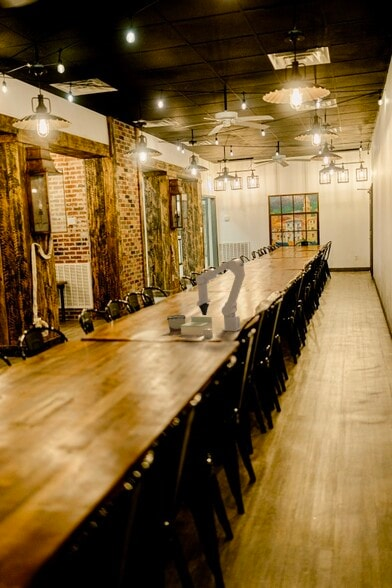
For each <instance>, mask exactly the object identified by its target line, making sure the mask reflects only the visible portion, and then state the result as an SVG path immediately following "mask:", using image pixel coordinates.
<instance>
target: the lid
mask: <svg viewBox="0 0 392 588" xmlns="http://www.w3.org/2000/svg"><path fill="white" fill-rule="evenodd" d="M190 317H191V319H190V320H191V321H189V322H185V324H183V325H181V327H203V326H206V325H208V324H210V323H212V324H213V322H212V321H213V319H212V316H200V315H199V316H198V315H197V316H193V315H192V316H190Z"/></svg>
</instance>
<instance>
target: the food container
mask: <svg viewBox="0 0 392 588" xmlns="http://www.w3.org/2000/svg"><path fill="white" fill-rule="evenodd" d="M186 320H187V317H186V315H184V314H174V315H168V316H167V318H166V321H167V324H168V329H169V333H172V334H173V333H181V325H183V324H186Z"/></svg>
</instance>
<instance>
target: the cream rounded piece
mask: <svg viewBox="0 0 392 588" xmlns="http://www.w3.org/2000/svg"><path fill="white" fill-rule="evenodd" d="M213 333H214V332H213V328H212V329H210V328H209V329H204V335H203V338H204V339H205V340H210V339H213V338H214V336H213V335H214V334H213ZM209 338H210V339H209Z"/></svg>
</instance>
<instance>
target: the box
mask: <svg viewBox="0 0 392 588" xmlns="http://www.w3.org/2000/svg"><path fill="white" fill-rule="evenodd" d="M209 328H210V329H212V330H213V322H212V323H210V324H208V325H206V326H203V327H181V332H180V333H181V336H197V335H198V336H204V329H209Z"/></svg>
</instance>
